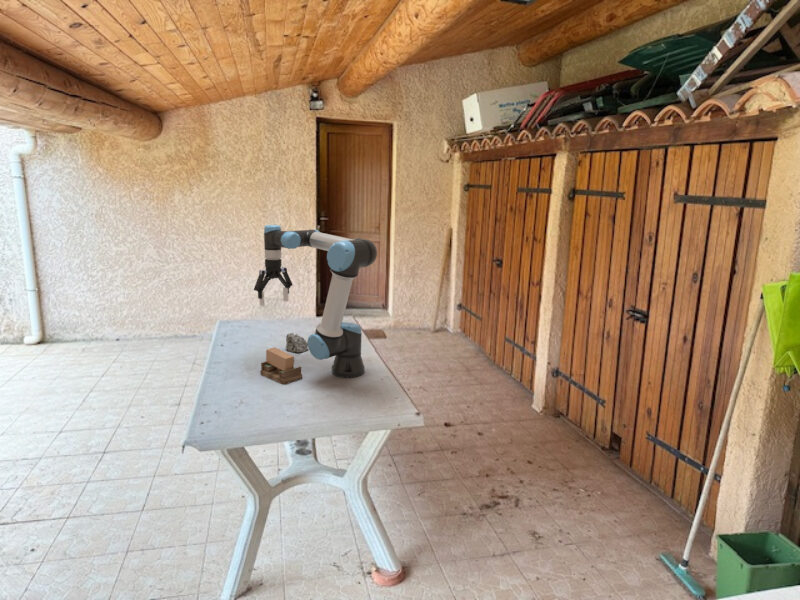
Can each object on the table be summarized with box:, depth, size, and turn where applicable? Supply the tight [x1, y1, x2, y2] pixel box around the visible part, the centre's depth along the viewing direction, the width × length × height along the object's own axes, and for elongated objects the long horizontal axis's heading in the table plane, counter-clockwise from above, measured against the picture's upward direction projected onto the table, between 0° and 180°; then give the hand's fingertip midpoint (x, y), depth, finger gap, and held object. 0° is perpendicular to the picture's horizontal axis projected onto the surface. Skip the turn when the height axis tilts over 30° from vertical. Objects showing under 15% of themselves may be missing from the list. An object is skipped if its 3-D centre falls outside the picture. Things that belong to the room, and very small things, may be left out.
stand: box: [259, 361, 303, 386], centre depth 228 cm, size 17×10×6 cm, turn 50°
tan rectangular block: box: [265, 347, 295, 371], centre depth 227 cm, size 14×4×6 cm, turn 49°
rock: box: [285, 332, 309, 353], centre depth 265 cm, size 13×10×10 cm
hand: (274, 303), depth 242 cm, fingers open, 13 cm apart
